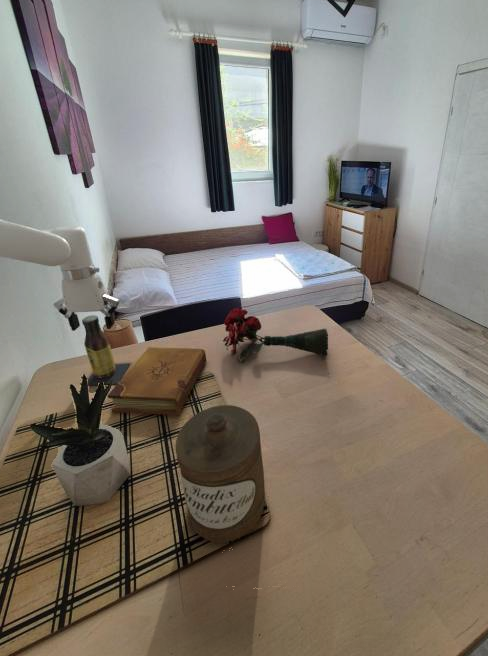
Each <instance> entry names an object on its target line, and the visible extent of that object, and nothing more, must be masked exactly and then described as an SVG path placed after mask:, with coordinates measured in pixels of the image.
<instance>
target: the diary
mask: <svg viewBox="0 0 488 656" xmlns="http://www.w3.org/2000/svg"><path fill="white" fill-rule="evenodd" d="M206 363H207V355H206V351H205V350H204V349H203V348H191V347H190V348H189V347H188V348H186V347H185V348H184V347H160V346H159V347H156V346H155V347H153V346H148V348H147V349H146V350H145V351H144V352H143V353H142V354H141V356H140V357H138V359H137V360H136V361H135V363H133V365H132V366H131V367H130V368H129V370H128V371H126V372H125V373H124V375H123V377H122V378H121V380H120V381H119V382H118V384H115V386H114V387H113V388H112V389H111V391H110V392H109V393H108V394H107V399H112V402H113V406H112V408H111V413H121V414H122V413H123V414H144V415H145V414H146V415H163V416H164V415H165V416H166V415H167V416H178V415H179V414H180V413H181V411H182V409H183V407H184V406H185V404H186V402H187V399H188V398H189V395H190V394H191V392H192V390H193V389H194V387H195V384H196V382H197V380H198V378H199V376H200V375H201V373H202V370H203V369H204V367H205V365H206Z"/></svg>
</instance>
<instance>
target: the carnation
mask: <svg viewBox="0 0 488 656" xmlns="http://www.w3.org/2000/svg"><path fill="white" fill-rule="evenodd" d="M247 314H248V310H247V309H240V308H238V307H237V308H234V309H233V310H231V311H229V313H228V314H227V316H226V318H225V319H224V326H225V332H226V333H227V332H228V334H227V335H226V336H225V337H224V338H223V340H222V343H224V347H226V349H225V350H226V351H227V350H229V349H228V348H229V347H230V346H232V349H231V350H230V353H231V355H233V356H235V355H237V354H238V351H237V346H238V345H240V343H244V342H245V341H250V342H251V343H250V344H249V345H248V346H247V347H245V348H244V349H243V350H241V353H240V355H239V361H240V363H242V361H244V360H245V359H246V358H247V357H248V355H249V354H250V352H251V349H252V347H254V348H253V350H252V353H253V354H257V353H259V352H260V350H261V349H262V347H263V346H265V347H266V346H268V347H270V346H275V347H279V346H280V347H281V346H282V347H289V348H292V349H295V350H300V351H304V352H309V353H312V354H317V355H320V356H325V357H326V356H328V350H329V333H328V330H327V328H322V329H316V330H311V331H305V332H301V333H299V332H298V333H296V334H290V335H285V336H279V335H278V336H276V335H275V336H273V335H272V336H271V335H264V337H263V336H260V335H258V334H257V333H258V331H260V330H262V323H261V321H260V319H259V318H258V317H256V316H255V315H250V316H247V317H245V316H246V315H247ZM258 341H259V342H260V343H257V344H255V342H258Z"/></svg>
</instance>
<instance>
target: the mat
mask: <svg viewBox="0 0 488 656" xmlns="http://www.w3.org/2000/svg"><path fill="white" fill-rule="evenodd" d="M130 365H131V362H129V363H115V367H116V370H115V372H114V373H113V374H112V375H111V376H109V377H105V378H97V377H96V376H95V375H94V373H93V372H92V373H91V374H90V376H89V377H88V378H87V380H88V386H87V387H93V386H95V387H96V386H99V385H98V383H99V382H100V381H103V382H104V385H103V386H109V384H110V382H111V381H112V380H113V384H112V385H117V384H118V382H119V381H120V380H121V379H122V378H123V377H124V375H125V374H126V373H127V370H128V368H129V367H130Z"/></svg>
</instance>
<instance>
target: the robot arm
mask: <svg viewBox="0 0 488 656" xmlns="http://www.w3.org/2000/svg"><path fill="white" fill-rule="evenodd" d="M0 258H6V259H10V260H11V259H12V260H16V261H21V262H27V263H31V264H37V265H41V266H46V267H58V266H59V269H60V271H61V274H62V278H61V293H62V298H60V299H59V300H57V301H56V302H54V303H53V306H54V308H56V310H57V311H58V313H60V314H61V315H63V316H64V318H65V319H67V321H68V325H69V327H70V329H71V332H74V331H76V330H77V329H79V328H80V327H81V324H80V323H81V322H80V320H79V316H78V314H77V313H90V312H91V313H93V312H94V313H95V312H101V314H102V315H104V316H103V317H104V319H103V320H104V322H105V326H106V329H107V330H110V329H112V327H114V325H115V318H114V312H115V311H116V310H117V309H118V306H119V304H120V299H119V298H115V297H113V296H111V295H109V294H108V292H107V289H106V286H105V284H104V281H103V279H102V277H101V276H100V274H99V273H100V268H99V267H97V266H96V267H95V264H94V261H93V258H92V253H91V250H90V246H89V242H88V238H87V233H86V230H85V228H83V227H82V226H79V225H64V226H59V227H55V228H53V229H41V230H40V229H37V228H33V227H30V226H26V225H22V224H18V223H15V222H11V221H7V220H5V219H1V218H0ZM63 304H64V305H63ZM109 304H111V306H109Z"/></svg>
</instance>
